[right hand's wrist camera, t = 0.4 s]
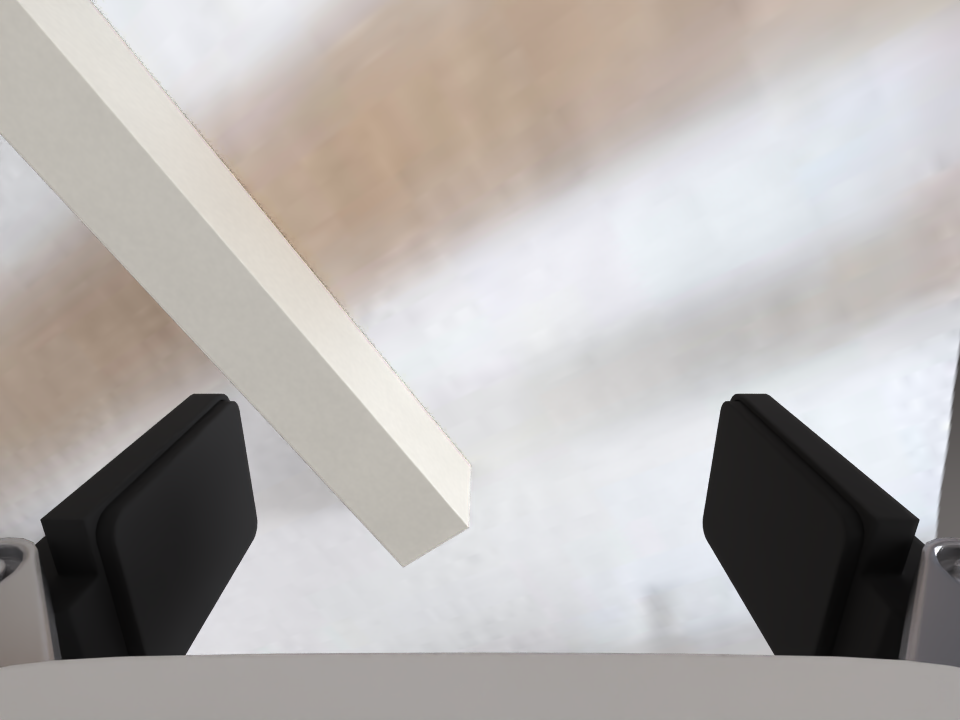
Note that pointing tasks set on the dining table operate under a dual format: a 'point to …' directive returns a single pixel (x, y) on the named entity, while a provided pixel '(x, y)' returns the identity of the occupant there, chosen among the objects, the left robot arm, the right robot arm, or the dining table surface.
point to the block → (223, 270)
